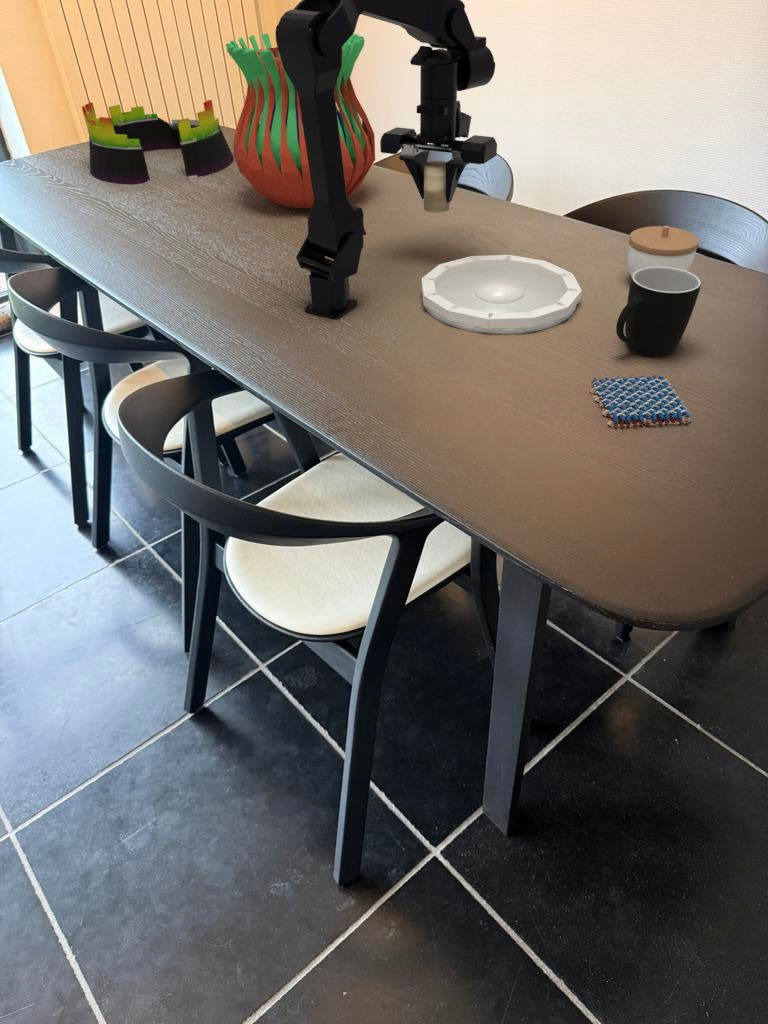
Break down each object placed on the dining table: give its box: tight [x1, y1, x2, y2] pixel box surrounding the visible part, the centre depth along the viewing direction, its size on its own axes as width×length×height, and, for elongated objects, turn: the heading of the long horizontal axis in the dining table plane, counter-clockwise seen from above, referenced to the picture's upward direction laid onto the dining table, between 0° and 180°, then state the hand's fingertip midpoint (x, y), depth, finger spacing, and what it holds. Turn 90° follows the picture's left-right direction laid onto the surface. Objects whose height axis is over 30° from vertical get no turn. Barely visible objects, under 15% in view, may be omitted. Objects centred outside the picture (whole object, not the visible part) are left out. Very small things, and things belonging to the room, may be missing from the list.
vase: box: [225, 33, 376, 209], centre depth 149 cm, size 30×30×30 cm
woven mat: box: [587, 374, 691, 428], centre depth 90 cm, size 10×11×2 cm
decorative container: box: [81, 99, 235, 186], centre depth 180 cm, size 37×37×15 cm
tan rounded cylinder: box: [423, 160, 451, 214], centre depth 119 cm, size 4×4×7 cm
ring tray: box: [420, 254, 583, 335], centre depth 115 cm, size 25×25×2 cm
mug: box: [615, 266, 702, 358], centre depth 98 cm, size 12×9×10 cm
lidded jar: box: [626, 225, 700, 278], centre depth 116 cm, size 11×11×9 cm
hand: (436, 200), depth 121 cm, fingers closed on tan rounded cylinder, 4 cm apart
